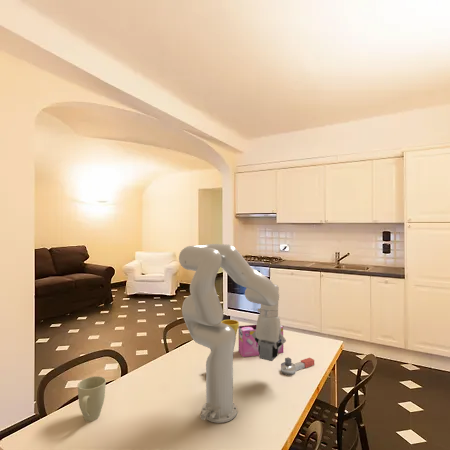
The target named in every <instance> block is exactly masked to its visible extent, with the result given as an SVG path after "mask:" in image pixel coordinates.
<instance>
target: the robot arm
mask: <svg viewBox="0 0 450 450" xmlns="http://www.w3.org/2000/svg"><path fill="white" fill-rule="evenodd" d="M178 262H179V264H180V266H181V267H182V268H183V269H185V270H187V271H194V274H193V276H192V279H191V281H190V284H189V293H190V294H189V295H188V296H186V297H185V298H184V300H183V302H182V306H181V314H182V317H183V320H184V322H185V325H186V328H187V330H188V333H189V335H190V337H191V339H192V340H193V341H194V342H195V343H197V344H199V345H201V346H203V347H205V348H207V349H210V353H209V355H208V356H207V358H206V362H205V363H206V364H205V370H206V372H205V375H206V376H205V378H206V379H205V380H206V382H205V387H206V389H205V391H206V392H205V394H206V395H205V403H204V404H203V406H202V407H201V414H200V419H201V420H202V421H205V420H207V421H209V422H212V423H216V424H217V423H220V424H222V423H223V424H224V423H227V422H229V421H231V420H234V418H235V417H236V416H237V414H238V408H237V407H238V406H237V405H236V404H235V403H234V396H233V395H234V389H233V388H234V380H233V379H234V377H233V376H234V365H233V364H234V351H235V345H236V341H237V340H236V339H237V334H235V331H234V330H233V328H232V327H230V326H229V325H227V324H224V323H221V322H222V321H223V320H224V309H223V307H222V303H221V301H220V298H219V295H218V292H217V289H216V286H215V283H216V282H215V281H216V277H217V276H218V272H219V271H220V268H221V269H222V270H224V272H226V273H225V274H227V275H228V276H229V277H230V279H231V280H232V281H233V282H234V283H236V284H237V285H238V286H241V287H244V288H246V289H245V291H244V296H245V298H246V300H247V301H248V302H250V303H253V304H257V305H260V307H259V308H257V312H258V313H259V314H258V316H257V321H256V325H257V326H256V331H255V332H254V333H253V334H252V336H253V338H254V339H255V341H256V342H257V343H258V345H259V347H258V352H259V355H258V356H260V341H262V340H264V341H269V342H273V343H274V349H273V358H275V359H276V358H277V357H278V356H279V353H278V347H279V346H281V345H282V344H283V345H284V344H285V343H286V342H287V339H286V338H285V337H284V334H283V335H282V334H281V326H282V325H281V324H282V323H281V317H280V316H279V301H280V293H279V291H280V289H279V285H278V284H275V283H273V281H272V280H271V279H270V278H268V277H267V276H266V275H264V274H262V273H261V272H260V271H258V270H257V269H256V268H253V267H252V266H251V265H250V264H249V263H248V261H247V260H246V259H245V258H244V256H243V255H242V254H241V253H240V251H239V250H238V249H237V248H236V247H235V246H233V245H230V244H224V243H220V244H219V243H208V244H200V245H199V244H198V245H188V246H185V247H183V249H182V250H180V253H179V256H178ZM279 339H281V342H279V343H278V341H279Z"/></svg>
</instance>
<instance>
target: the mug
mask: <svg viewBox="0 0 450 450" xmlns="http://www.w3.org/2000/svg"><path fill="white" fill-rule="evenodd" d="M106 382H107V379H106V378H105V377H103V376H100V375H99V376H96V375H95V376H89V377H86V378H84V379H82V380H81V381H80V380H79V382H78V383H77V396H78V405H79V409H80V412H81V413H82V418H83V419H84V421H85V422H93V421H96V420H98V419H99V417H100V415H101V412H102V409H103V405H104V401H105V397H106V395H105V394H106Z"/></svg>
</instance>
